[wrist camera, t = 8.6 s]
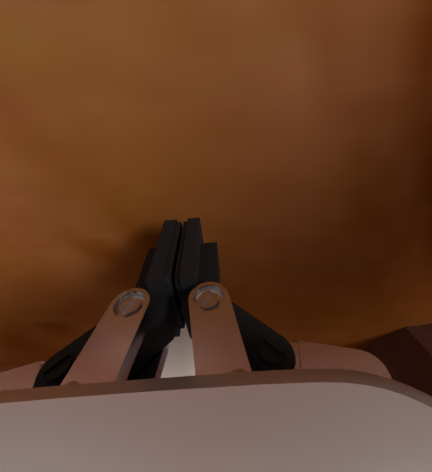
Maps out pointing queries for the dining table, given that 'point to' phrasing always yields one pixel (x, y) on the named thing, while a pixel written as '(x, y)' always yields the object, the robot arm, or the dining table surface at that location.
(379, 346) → the muffin
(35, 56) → the dining table surface
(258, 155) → the dining table surface
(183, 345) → the cue ball
